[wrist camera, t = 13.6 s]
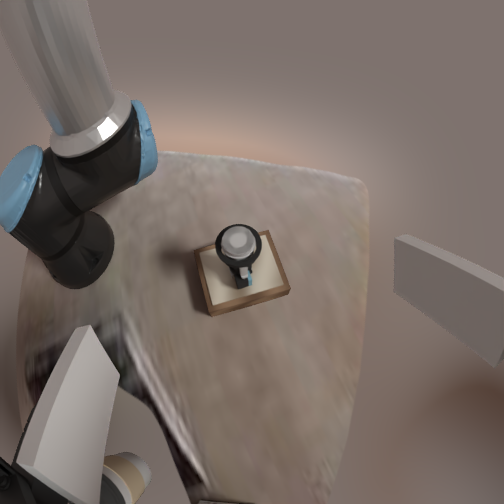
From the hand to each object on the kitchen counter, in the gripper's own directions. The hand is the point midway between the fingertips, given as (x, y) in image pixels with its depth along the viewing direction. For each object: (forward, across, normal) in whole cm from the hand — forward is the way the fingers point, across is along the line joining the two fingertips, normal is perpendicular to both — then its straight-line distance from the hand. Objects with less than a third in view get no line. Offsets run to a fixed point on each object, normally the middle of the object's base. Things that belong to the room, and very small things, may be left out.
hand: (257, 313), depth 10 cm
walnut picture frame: (+30, +2, -12) cm, 32 cm away
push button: (+28, +2, -10) cm, 29 cm away
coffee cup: (+11, -24, -31) cm, 41 cm away
